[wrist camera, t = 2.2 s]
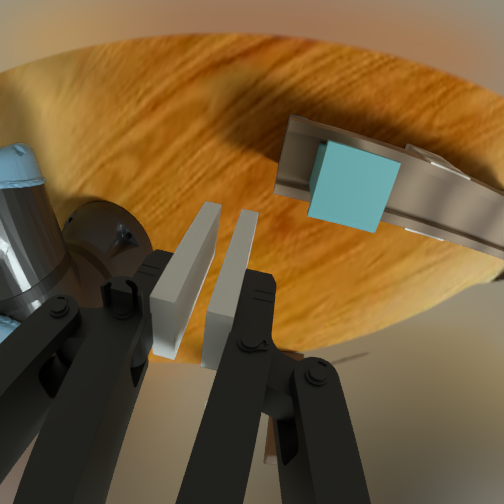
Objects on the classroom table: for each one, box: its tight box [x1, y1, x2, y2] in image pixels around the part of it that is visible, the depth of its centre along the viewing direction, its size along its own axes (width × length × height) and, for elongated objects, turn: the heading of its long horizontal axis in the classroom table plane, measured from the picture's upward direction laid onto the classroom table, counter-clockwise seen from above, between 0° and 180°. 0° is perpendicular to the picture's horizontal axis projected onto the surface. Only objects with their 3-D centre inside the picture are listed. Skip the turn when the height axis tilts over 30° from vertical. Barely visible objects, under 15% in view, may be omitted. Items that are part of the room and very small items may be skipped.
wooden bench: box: [273, 114, 504, 260], centre depth 30 cm, size 32×7×8 cm, turn 79°
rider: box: [307, 140, 401, 233], centre depth 25 cm, size 6×6×5 cm
